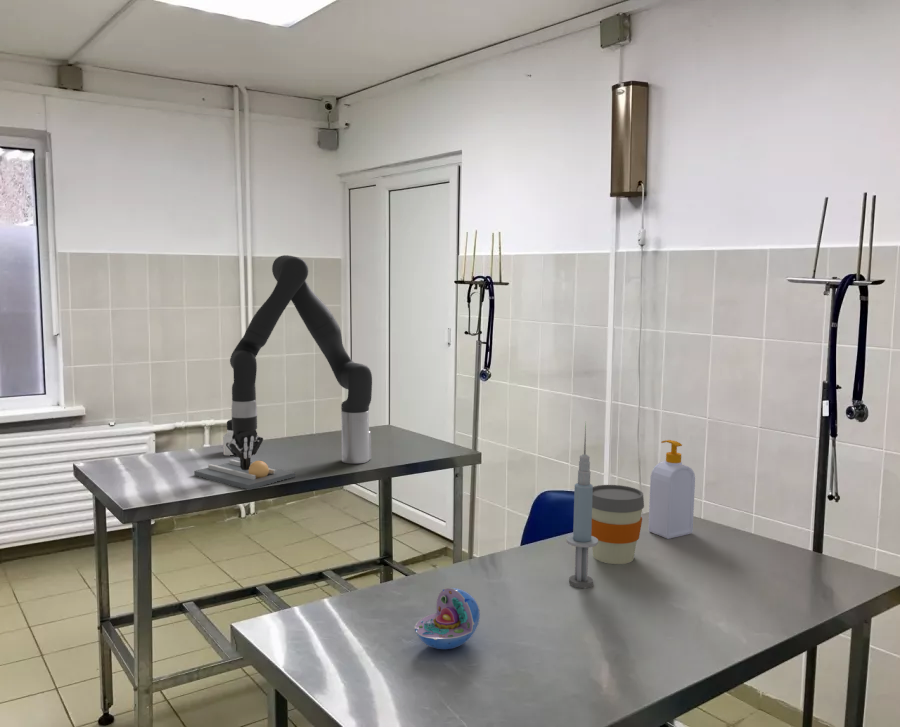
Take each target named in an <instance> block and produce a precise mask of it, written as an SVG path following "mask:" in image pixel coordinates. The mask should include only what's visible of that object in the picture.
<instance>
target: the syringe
mask: <svg viewBox="0 0 900 727" xmlns="http://www.w3.org/2000/svg"><path fill="white" fill-rule="evenodd" d="M584 423H585V426H584V444H583V454H581V455H579V461H578V470H577V482H576V483H575V484H574V487H573V488H574V489H573V490H574V491H573V492H574V495H573V502H574V503H573V526H572V527H573V528H572V531H573V532H572V534H570V535H568V536H566V537H565V540H566V543H567V544H568V545H570V546H572V547H575V555H574V556H575V558H574V559H575V560H574V561H575V562H574V566H575V567H574V574H573V575H571V576H570V577H569V578H568V579H569V580H568V583H569V585H570V586H571V587H574V588H577V589H579V588H580V589H588V588H591V587H593V585H594V583H593V582H594V580H593V578H592V577H591V576H589V575H588V572H589V570H588V569H589V568H588V567H589V548H592V547H594V546H596V545H597V544H598V539H597V538H596V537H594V536H591V529H592V496H593V487H594V485H593V484H591V470H590V468H591V467H590V466H591V462H590V457H591V456H590V455H588V454H586V452H587V451H586V450H587V449H586V448H587V447H586V446H587V444H586V441H587V440H586V439H587V438H586V437H587V436H586V435H587V433H586V432H587V429H586V428H587V424H586V423H587V422H584Z"/></svg>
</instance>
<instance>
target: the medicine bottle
mask: <svg viewBox="0 0 900 727" xmlns="http://www.w3.org/2000/svg"><path fill="white" fill-rule="evenodd" d="M232 436H233V430H232V418H231V419H228V420H227V422H226V433H224V434H223V436H222V447H223V448H222V449H223V456H230V455H233V454H232V452H231V451H230V450H229V449H228V447H227V446H226V443H230V441H231V440H232ZM236 447H237V446H236Z"/></svg>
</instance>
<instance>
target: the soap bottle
mask: <svg viewBox="0 0 900 727" xmlns="http://www.w3.org/2000/svg"><path fill="white" fill-rule="evenodd" d="M663 443H664V444H665V443H669V444H670V448H671V449H670V451H668V452H666V453H665V460H663V461H660V462H658V463H657V464H655V466H654V467H653V469H652V470H651V474H650V482H649V484H650V485H649V501H648V502H649V505H648V507H649V508H648V532H650V533H652V534H655V535H657V536H660V537H662V538H665V539H667V540H670V539H673V538H678V537H682V536H687V535H690V534H692V533H693V530H694V509H695V491H696V490H695V487H696V476H695V472H694V470H693V469H692V467H690V466H687V465H685V464H683V462H682V453H680V452H678V448H679V447H682V446H683V444H682V443H681V442H679V441H677V440H671V439H667V440H666V439H665V440H662V441H661V444H663Z"/></svg>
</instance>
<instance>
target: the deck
mask: <svg viewBox="0 0 900 727" xmlns="http://www.w3.org/2000/svg"><path fill="white" fill-rule="evenodd" d="M250 463H251V464H252V463H253V462H251V461H250ZM268 468H269V473H268V475H267V476H265V477H262V478H258V479H256V475H253V474H249V470H242V469H241V467H240V459H239V460H236V459H233V458H232V459H229V460H228V462H227V463H222V464H218V465H215V464H212V463H210V464H208V467H204V468H201V469H197V470H194V472H193V473H194V474H193V475H194V477H198V476H199V478H202V477H203V478H202V479H205V478H207V479H206V480H209V479H210V481H213V480H214V481H213V482H216V483H217V482H218V483H220V482H221V484H224V483H226V484H225V485H228V484H230V485H229V486H232V485H233V486H232V487H235V486H238V487H237V488H239V487H242V488H241V489H243V488H246V489H245V490H247V489H248V490H247V491H251V490H254V489H257V487H258V488H261V487H263V486H262V485H265V486H267V485H266V484H269V485H272V484H275V483H274V482H276V483H278V482H277V481H280V482H282V481H281V480H283V481H285V480H284V479H287V480H289V479H288V478H291V477H294V478H296V472H294V471H291V470H286V469H282V468H277V467H274V466H273V467H272V466H269V465H268ZM291 479H292V478H291ZM271 483H272V484H271ZM260 486H261V487H260Z"/></svg>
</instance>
